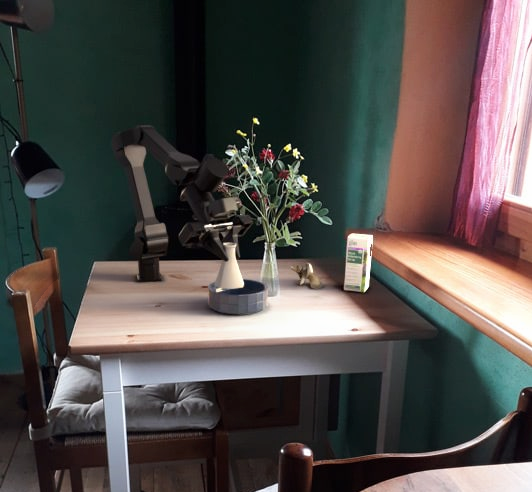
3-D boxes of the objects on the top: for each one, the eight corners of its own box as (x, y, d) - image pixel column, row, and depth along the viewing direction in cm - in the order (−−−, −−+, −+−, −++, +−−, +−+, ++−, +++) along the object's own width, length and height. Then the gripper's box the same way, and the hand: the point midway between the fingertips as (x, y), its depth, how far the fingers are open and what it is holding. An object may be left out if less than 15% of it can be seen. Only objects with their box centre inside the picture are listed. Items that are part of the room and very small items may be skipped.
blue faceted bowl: (205, 299, 154) (204, 279, 153) (260, 296, 157) (260, 277, 156) (212, 317, 142) (212, 296, 140) (272, 314, 144) (273, 294, 143)
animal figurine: (283, 278, 169) (302, 280, 161) (294, 255, 170) (312, 256, 162) (303, 290, 173) (322, 293, 165) (313, 267, 174) (333, 269, 166)
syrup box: (343, 290, 164) (346, 236, 159) (348, 284, 169) (352, 232, 164) (364, 293, 162) (368, 238, 157) (369, 287, 167) (373, 234, 162)
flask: (247, 289, 144) (248, 247, 140) (216, 290, 142) (216, 248, 138) (240, 280, 150) (241, 240, 146) (211, 281, 148) (211, 240, 145)
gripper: (185, 186, 134) (217, 245, 131) (249, 180, 146) (279, 234, 143) (165, 216, 142) (195, 273, 139) (227, 208, 154) (256, 260, 151)
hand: (233, 259), depth 143 cm, fingers closed on flask, 3 cm apart
